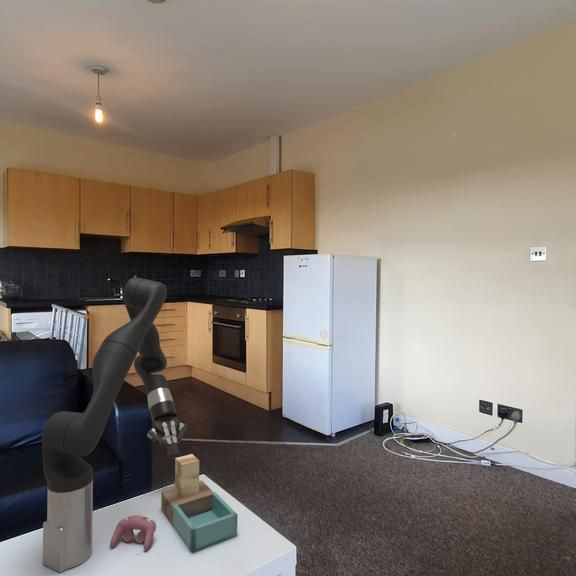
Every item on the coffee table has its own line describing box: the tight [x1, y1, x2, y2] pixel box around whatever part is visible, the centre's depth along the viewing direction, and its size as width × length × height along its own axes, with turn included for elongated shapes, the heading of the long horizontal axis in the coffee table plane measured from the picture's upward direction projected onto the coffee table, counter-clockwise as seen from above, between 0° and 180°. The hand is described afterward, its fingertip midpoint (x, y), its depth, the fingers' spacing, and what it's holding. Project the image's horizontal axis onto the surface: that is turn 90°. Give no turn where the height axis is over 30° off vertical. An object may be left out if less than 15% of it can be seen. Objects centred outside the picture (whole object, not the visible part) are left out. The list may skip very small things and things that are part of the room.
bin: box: [172, 491, 238, 554], centre depth 106 cm, size 13×12×6 cm
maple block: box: [174, 453, 200, 498], centre depth 116 cm, size 5×5×9 cm
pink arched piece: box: [110, 515, 157, 552], centre depth 101 cm, size 10×5×7 cm, turn 84°
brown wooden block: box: [160, 480, 215, 527], centre depth 115 cm, size 9×12×5 cm
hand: (174, 457), depth 124 cm, fingers closed
